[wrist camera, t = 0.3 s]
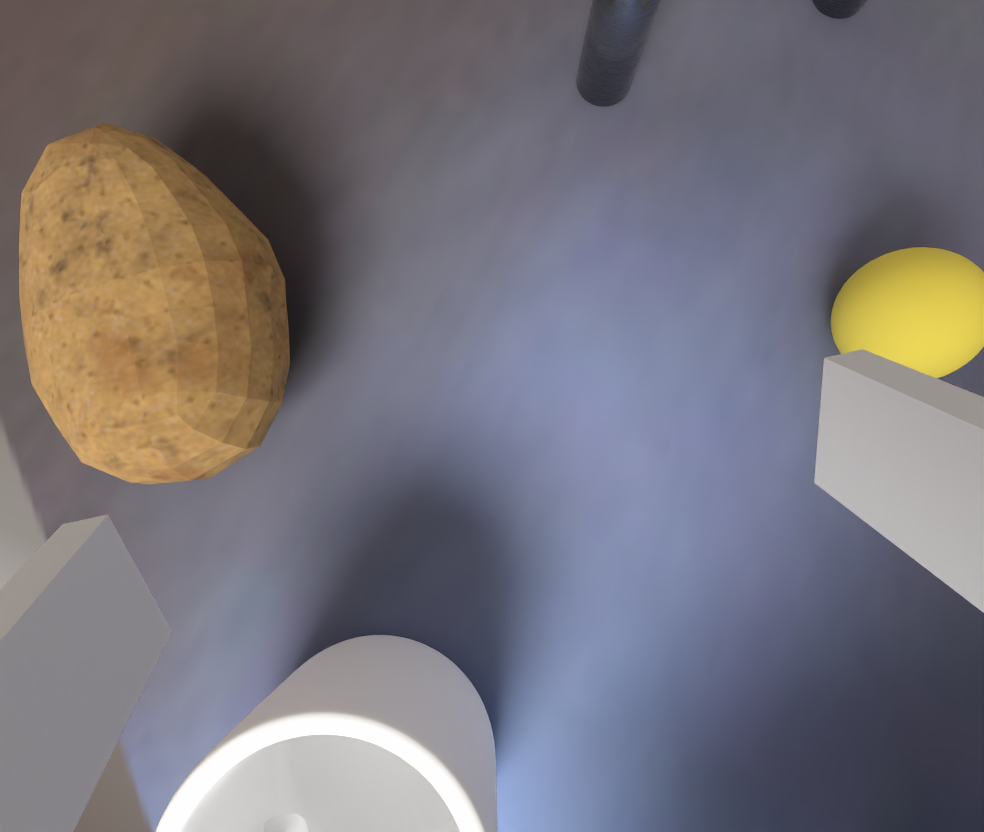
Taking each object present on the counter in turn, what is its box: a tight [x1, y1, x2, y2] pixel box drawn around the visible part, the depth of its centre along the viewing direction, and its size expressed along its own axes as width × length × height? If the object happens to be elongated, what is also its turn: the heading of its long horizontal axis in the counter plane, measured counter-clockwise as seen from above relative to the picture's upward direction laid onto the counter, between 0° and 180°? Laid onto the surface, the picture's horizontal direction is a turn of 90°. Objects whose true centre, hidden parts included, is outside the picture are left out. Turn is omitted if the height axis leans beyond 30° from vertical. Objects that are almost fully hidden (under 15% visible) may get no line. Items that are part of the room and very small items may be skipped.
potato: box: [19, 123, 290, 484], centre depth 22 cm, size 10×14×8 cm
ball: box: [831, 247, 984, 378], centre depth 23 cm, size 6×6×6 cm
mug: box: [155, 635, 497, 832], centre depth 20 cm, size 12×10×9 cm
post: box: [577, 0, 660, 106], centre depth 23 cm, size 3×3×9 cm
